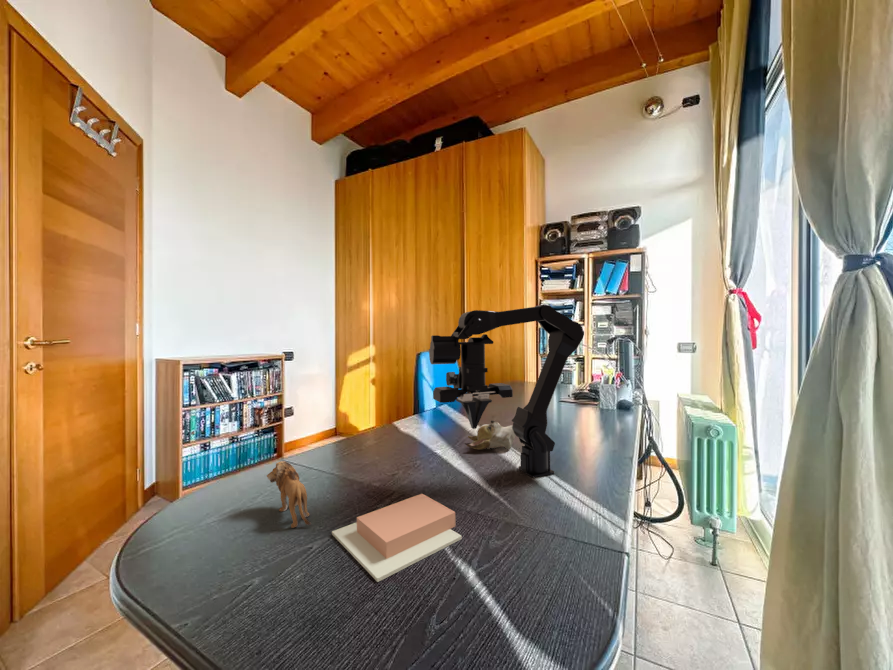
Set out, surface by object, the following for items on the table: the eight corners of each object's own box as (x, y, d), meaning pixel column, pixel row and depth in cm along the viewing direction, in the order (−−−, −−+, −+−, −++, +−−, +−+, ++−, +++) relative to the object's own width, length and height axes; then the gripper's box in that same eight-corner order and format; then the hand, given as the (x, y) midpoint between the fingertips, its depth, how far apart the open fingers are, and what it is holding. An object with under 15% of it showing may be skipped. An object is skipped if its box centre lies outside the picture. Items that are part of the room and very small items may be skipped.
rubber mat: (408, 505, 73) (408, 502, 73) (461, 538, 60) (461, 535, 60) (331, 534, 62) (331, 531, 62) (377, 582, 50) (377, 578, 50)
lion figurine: (264, 506, 73) (264, 462, 73) (291, 498, 77) (290, 456, 77) (296, 533, 63) (296, 482, 63) (325, 521, 67) (324, 473, 67)
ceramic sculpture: (517, 423, 103) (465, 426, 104) (519, 453, 102) (467, 456, 104) (513, 415, 113) (466, 418, 115) (515, 442, 113) (468, 445, 114)
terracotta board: (421, 493, 71) (356, 517, 62) (455, 512, 63) (386, 542, 54) (422, 506, 71) (356, 531, 62) (455, 526, 63) (386, 558, 54)
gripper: (492, 359, 96) (492, 417, 96) (425, 362, 90) (426, 424, 90) (513, 362, 86) (514, 427, 86) (440, 365, 80) (441, 435, 80)
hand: (473, 428), depth 86 cm, fingers closed
